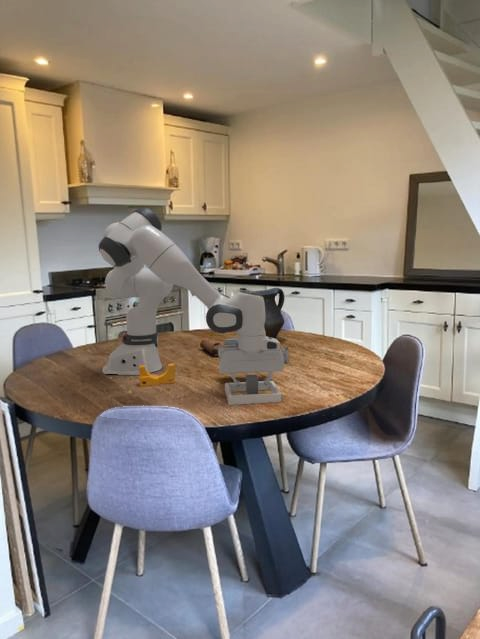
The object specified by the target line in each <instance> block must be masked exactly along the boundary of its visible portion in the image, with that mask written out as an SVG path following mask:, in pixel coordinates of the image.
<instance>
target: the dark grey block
mask: <svg viewBox="0 0 480 639" xmlns="http://www.w3.org/2000/svg"><path fill="white" fill-rule="evenodd" d="M245 382H246V391H245V395H250V394H259V390H258V382H259V376H258V375H257V374H245Z"/></svg>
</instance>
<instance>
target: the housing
mask: <svg viewBox="0 0 480 639" xmlns="http://www.w3.org/2000/svg"><path fill="white" fill-rule="evenodd" d="M239 382H240V381H239ZM239 385H240V387H235V385H234V382H225V383H224V392H225V395H226V396H225V397H226V400H227V404H228V406H234V405H235V404H236V405H247V404H248V405H249V404H250V405H251V404H252V403H253V404H269V402H271V403H282V393H281V391H280V390H279V387H277V385H276V383H275V381H274V380H269V385H264V380H263V381H258V391H271V392H272V393H258V394H250V395H246V394H234V395H232V393H234V392H236V393H237V392H246V381H243V382H240V384H239Z"/></svg>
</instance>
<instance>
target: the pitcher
mask: <svg viewBox="0 0 480 639" xmlns="http://www.w3.org/2000/svg"><path fill="white" fill-rule="evenodd" d="M254 291H255V292H258V293H260V294H261V295H262V296H263V299H264V303H265V323H264V328H265V332H266V336H267V337H271V338H275V339H277V337H278V336H279V334H280V332H281V330H282V329H283V327H284V325H285V319H284V316H283V314H282V312H281V311H282V308H283V306H284V303H285V292H284V291H283V289H282V288H280V287H273V288H272V287H271V288H269V289H264V290H254ZM277 295H278V302H276V297H277Z"/></svg>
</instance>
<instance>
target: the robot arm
mask: <svg viewBox="0 0 480 639" xmlns="http://www.w3.org/2000/svg"><path fill="white" fill-rule="evenodd" d="M162 228H163V226H162V222H161V220H160V218H159V216H158V215H157V214H156V213H155V212H154V211H153V210H152V209H151V208H149V207H142V206H141V207H139V208H138V209H135V210H134V211H132V213H130V214H129V215H128V216H126V217H125V218H123V219H121V220H120V222H113V223H111V224H109V225H108V226H107V227H106V228H105V230H104V233H103V238H102V239H101V240H100V242H99V244H98V251H99V253H100V255H101V257H102V258H103V259H104V261H105V262H106V263H108V264H110V266H113V267H114V268H113V269H112V270H110V271H109V272H108V273H107V275H106V276H105V280H104V285H105V289H106V291H107V292H108V293H109V295H110V296H114V297H119V298H139V299H140V300H139V304H138V305H136V306H133V307H132V308H131V309H129V310H128V311H127V313H126V316H125V319H126V321H125V322H126V332H123V333H122V334H121V343H122V344H120V345H119V346H118V347H116V348H115V349H114V350H113V351H112V352H111V353H110V355H109V356H108V361H107V364H105V365H104V366H103V367H102V371H101V372H103V373H104V374H103V373H102V374H103V375H105V374H118V375H117V376H140V373H139V366H140V365H145V368H146V370H147V372H148V373H150V374H151V373H153V372H157V371H159V370H161V369H162V368H163V365H162V363H161V359H160V356H159V350H158V349H159V348H158V346H159V335H158V332H157V314H158V313H157V312H158V308H159V306H160V304H161V302H162V301H163V300H164V299H165V298H166V297H168V295H169V294H170V293H171V292H172V290H173V289H174V288H173V287H174V285H175V286H178V287H181V288H183V289H185V290H187V291H189V292H190V293H192V294H193V295H194V296H195V297H196V298H197V299H198V300H199V301H200V302H201V303H202V304H203V305H204V306H206V308H207V309H208V310H207V312H206V314H205V320H206V325H207V326H208V328H209V330H211V332H212V331H213V333H216V334H226V333H227V334H228V333H232V332H236V339H237V343H231V344H226V343H222V345H221V346H220V347H219V348H218V356H217V357H219V367H218V368H219V372H220V373H221V374H223V375H226V374H227V375H228V374H230V377H231V379H232V380H233V383H234V385H235V387H240V385H239V384H240V380H239V379H237V378H236V377H237V375H236V374H248V373H249V374H250V373H251V374H252V373H267V374H268V375H267V376H266V378H264V379H263V381H264V385H269V381H271V379H272V377H273V375H274V372H283V371H284V369H285V362H284V356H283V353H282V351H281V350H280V349H281V342H280V341H279V340H278V339H277V338H276V339H275V338H271V337H267V336H266V332H265V328H264V323H265V303H264V299H263V296H262V295H261V294H260V293H258V292H255V291H256V290H251V289H250V290H247V289H242V290H239V291H238V292H236V293H235V294H234V295H232V296H228V295H226V294H223V293H221V292H220V291H219V290H218V289H217V288H216V287H215V286H214V285H212V284H211V283H210V281H208V279H206V278H205V277H204V276H203V275H202V274H201V273H200V272H199V270H198V269H197V268H196V267H195V266H194V265H193V263H192V262H191V261H190V259H189V258H188V257H187V255H186V254H185V253H184V251H182V249H181V248H179V246H178V245H176V243H175V242H174V241H173V240H171V238H170V237H168V236H167V235H165V233H164V232H162V230H163V229H162ZM145 266H146V267H145ZM144 267H145V268H144ZM222 346H223V347H222Z"/></svg>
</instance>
